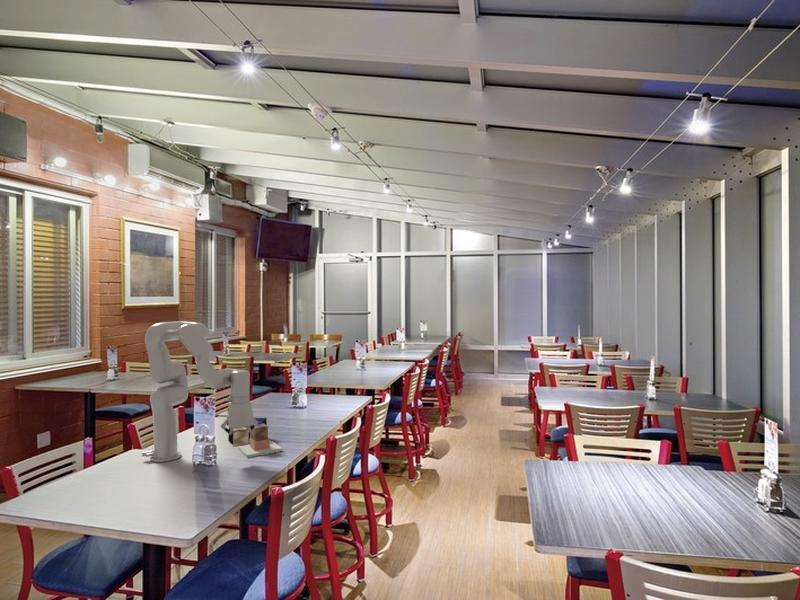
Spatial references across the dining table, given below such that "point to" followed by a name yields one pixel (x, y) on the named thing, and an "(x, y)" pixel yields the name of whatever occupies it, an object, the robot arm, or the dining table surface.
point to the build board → (258, 452)
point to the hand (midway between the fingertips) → (239, 441)
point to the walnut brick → (259, 432)
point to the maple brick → (240, 437)
